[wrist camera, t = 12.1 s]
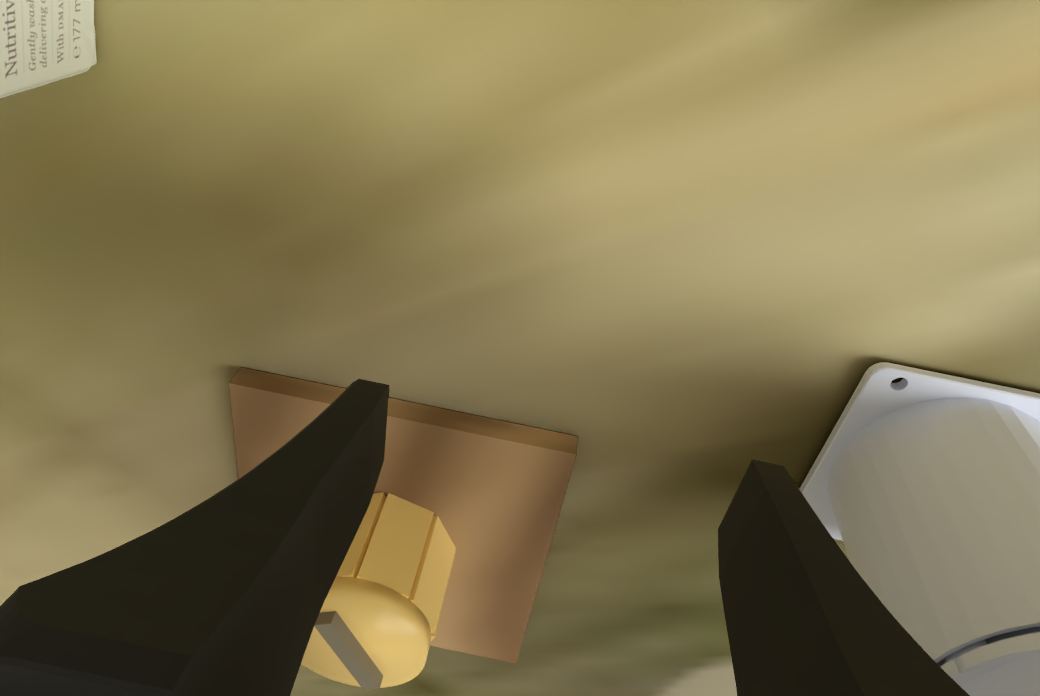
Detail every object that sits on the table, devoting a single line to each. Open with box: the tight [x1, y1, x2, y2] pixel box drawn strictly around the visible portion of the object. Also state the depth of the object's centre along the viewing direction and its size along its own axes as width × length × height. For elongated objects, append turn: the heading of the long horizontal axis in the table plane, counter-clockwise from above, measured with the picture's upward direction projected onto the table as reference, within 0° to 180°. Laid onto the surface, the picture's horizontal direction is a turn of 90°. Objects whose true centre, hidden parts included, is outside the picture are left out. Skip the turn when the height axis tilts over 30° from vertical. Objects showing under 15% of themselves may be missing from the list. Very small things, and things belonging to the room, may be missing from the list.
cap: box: [301, 492, 456, 690], centre depth 28 cm, size 6×6×5 cm
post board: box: [229, 367, 578, 663], centre depth 29 cm, size 13×14×4 cm
